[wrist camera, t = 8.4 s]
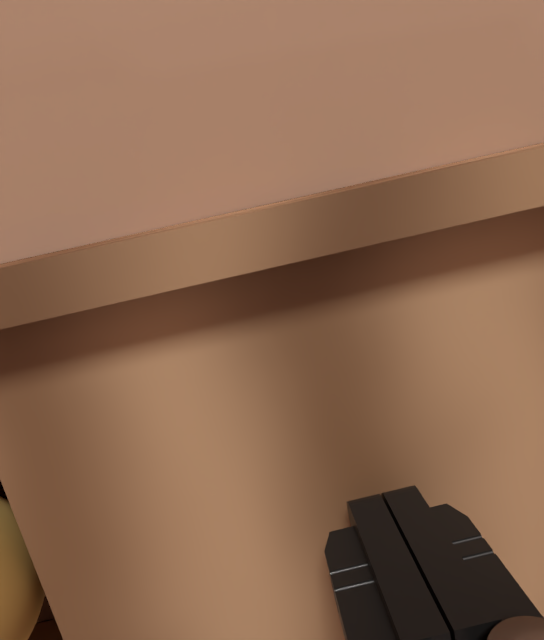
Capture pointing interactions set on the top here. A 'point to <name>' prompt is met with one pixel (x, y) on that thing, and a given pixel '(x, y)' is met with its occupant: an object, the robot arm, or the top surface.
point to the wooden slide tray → (274, 398)
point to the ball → (16, 581)
